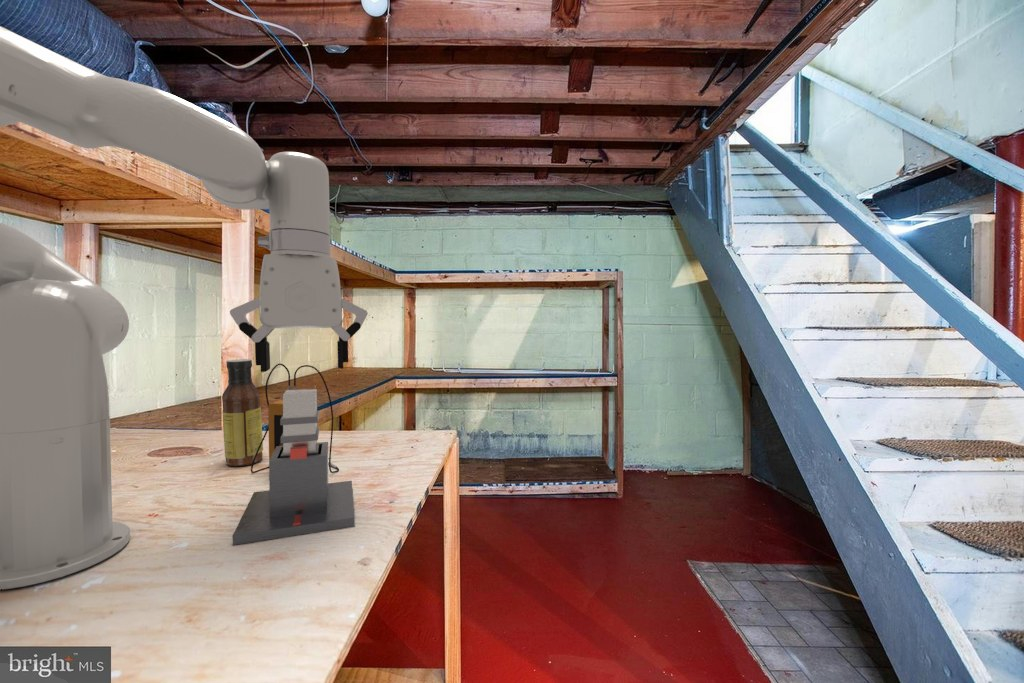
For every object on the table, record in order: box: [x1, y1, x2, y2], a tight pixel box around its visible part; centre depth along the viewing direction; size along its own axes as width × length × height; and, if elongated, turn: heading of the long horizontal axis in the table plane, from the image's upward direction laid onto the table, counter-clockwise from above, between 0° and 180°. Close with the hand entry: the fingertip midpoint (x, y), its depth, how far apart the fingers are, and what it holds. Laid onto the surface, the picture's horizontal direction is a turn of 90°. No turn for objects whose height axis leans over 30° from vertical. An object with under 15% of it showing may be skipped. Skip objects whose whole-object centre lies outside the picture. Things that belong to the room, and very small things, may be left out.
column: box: [280, 388, 320, 458], centre depth 60 cm, size 5×5×16 cm
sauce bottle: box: [221, 358, 264, 467], centre depth 80 cm, size 7×6×20 cm
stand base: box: [232, 441, 356, 546], centre depth 60 cm, size 14×14×10 cm
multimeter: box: [250, 363, 340, 474], centre depth 78 cm, size 15×10×20 cm
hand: (304, 369), depth 60 cm, fingers open, 9 cm apart
